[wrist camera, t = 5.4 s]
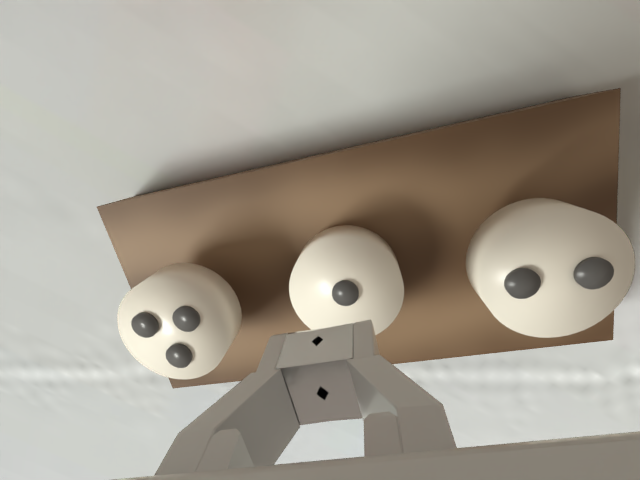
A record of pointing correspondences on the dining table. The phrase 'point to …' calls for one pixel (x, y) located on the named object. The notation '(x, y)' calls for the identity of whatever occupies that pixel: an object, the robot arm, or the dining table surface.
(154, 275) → the button three
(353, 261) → the button one
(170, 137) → the dining table surface
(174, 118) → the dining table surface
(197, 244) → the button board
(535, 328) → the button two
